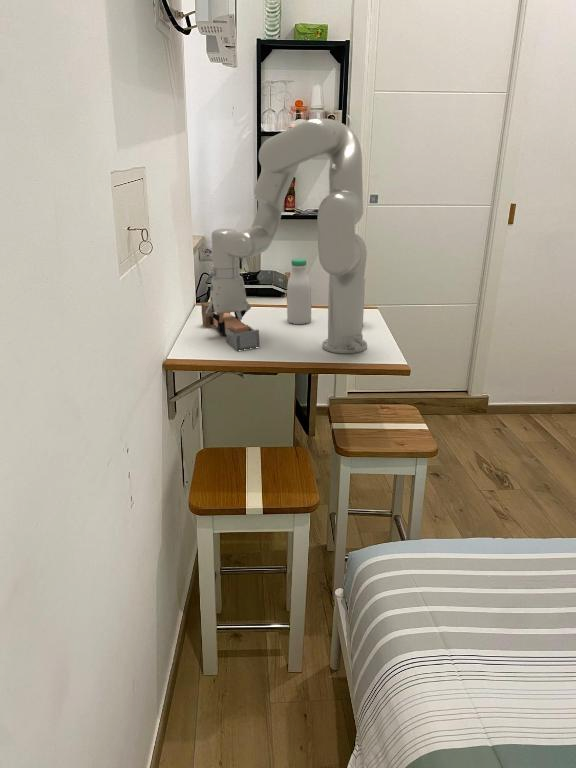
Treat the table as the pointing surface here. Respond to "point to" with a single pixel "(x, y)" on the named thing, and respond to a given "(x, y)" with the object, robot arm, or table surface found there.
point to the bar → (232, 323)
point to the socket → (207, 316)
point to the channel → (243, 339)
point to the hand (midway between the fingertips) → (229, 332)
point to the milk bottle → (299, 294)
